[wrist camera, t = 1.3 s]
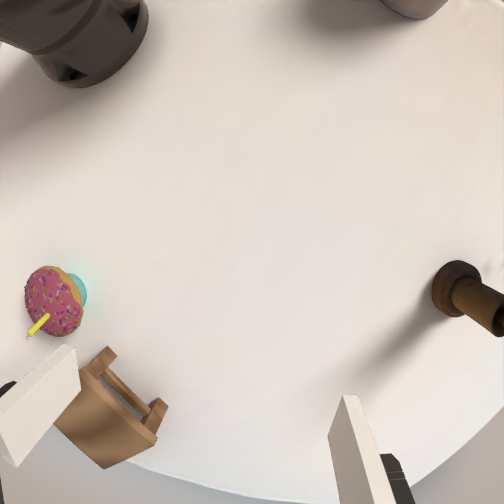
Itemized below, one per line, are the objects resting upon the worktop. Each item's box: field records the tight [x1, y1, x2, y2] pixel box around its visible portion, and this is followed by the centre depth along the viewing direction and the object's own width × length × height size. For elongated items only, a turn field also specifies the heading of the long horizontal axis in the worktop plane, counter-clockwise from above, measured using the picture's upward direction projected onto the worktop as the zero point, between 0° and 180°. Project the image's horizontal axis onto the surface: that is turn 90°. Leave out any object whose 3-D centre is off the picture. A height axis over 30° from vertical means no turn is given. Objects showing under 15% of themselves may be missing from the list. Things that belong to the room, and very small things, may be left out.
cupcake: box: [24, 266, 87, 339], centre depth 30 cm, size 9×8×12 cm
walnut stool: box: [53, 346, 168, 469], centre depth 35 cm, size 12×12×8 cm
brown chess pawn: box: [432, 260, 504, 337], centre depth 25 cm, size 7×6×18 cm
